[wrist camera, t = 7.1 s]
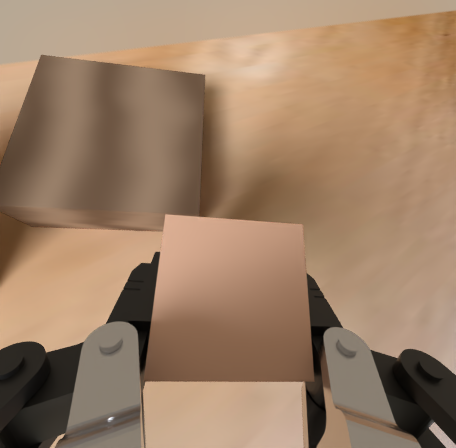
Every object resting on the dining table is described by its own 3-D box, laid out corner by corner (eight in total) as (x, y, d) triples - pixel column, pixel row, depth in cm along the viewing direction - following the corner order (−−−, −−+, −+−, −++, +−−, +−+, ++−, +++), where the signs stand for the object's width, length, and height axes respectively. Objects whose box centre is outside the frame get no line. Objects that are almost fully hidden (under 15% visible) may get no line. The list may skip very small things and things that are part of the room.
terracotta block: (248, 264, 16) (302, 224, 8) (248, 335, 15) (314, 381, 6) (183, 261, 16) (165, 214, 7) (176, 333, 14) (143, 381, 6)
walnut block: (203, 115, 26) (205, 74, 22) (198, 233, 22) (199, 214, 17) (70, 102, 24) (41, 54, 20) (35, 228, 20) (-15, 204, 15)
